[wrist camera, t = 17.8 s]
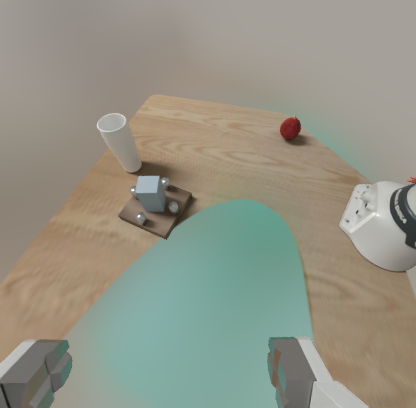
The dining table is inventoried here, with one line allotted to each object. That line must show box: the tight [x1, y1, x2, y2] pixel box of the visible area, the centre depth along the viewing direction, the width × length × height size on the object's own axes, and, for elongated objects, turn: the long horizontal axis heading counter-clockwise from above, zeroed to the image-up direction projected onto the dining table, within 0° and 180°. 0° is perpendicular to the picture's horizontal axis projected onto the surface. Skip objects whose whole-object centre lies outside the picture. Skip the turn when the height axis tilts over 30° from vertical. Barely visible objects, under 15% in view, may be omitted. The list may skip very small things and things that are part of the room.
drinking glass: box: [97, 113, 142, 173], centre depth 52 cm, size 7×7×15 cm
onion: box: [280, 115, 301, 139], centre depth 61 cm, size 6×6×8 cm
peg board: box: [118, 177, 192, 240], centre depth 49 cm, size 13×13×5 cm
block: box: [135, 176, 166, 212], centre depth 46 cm, size 4×4×8 cm
